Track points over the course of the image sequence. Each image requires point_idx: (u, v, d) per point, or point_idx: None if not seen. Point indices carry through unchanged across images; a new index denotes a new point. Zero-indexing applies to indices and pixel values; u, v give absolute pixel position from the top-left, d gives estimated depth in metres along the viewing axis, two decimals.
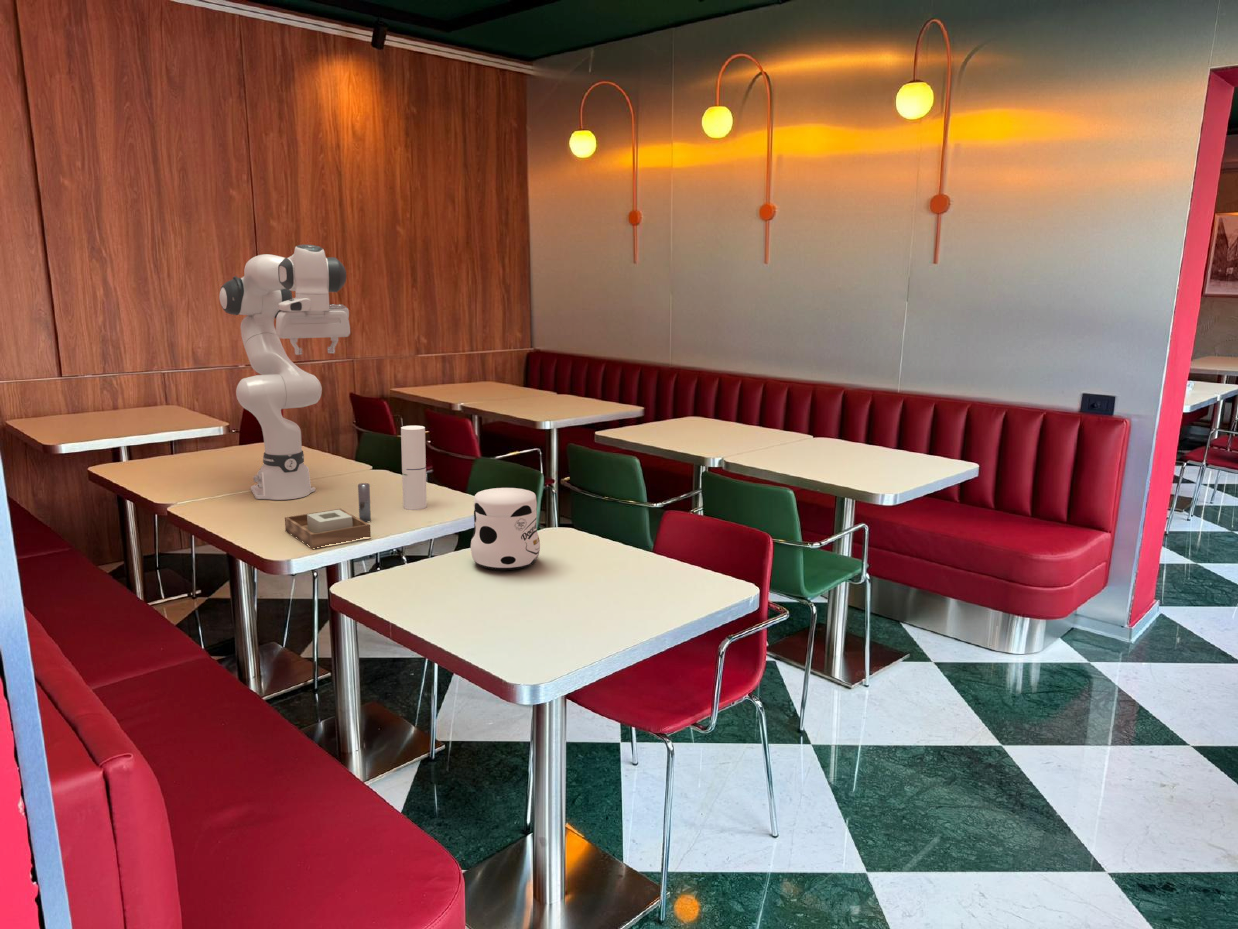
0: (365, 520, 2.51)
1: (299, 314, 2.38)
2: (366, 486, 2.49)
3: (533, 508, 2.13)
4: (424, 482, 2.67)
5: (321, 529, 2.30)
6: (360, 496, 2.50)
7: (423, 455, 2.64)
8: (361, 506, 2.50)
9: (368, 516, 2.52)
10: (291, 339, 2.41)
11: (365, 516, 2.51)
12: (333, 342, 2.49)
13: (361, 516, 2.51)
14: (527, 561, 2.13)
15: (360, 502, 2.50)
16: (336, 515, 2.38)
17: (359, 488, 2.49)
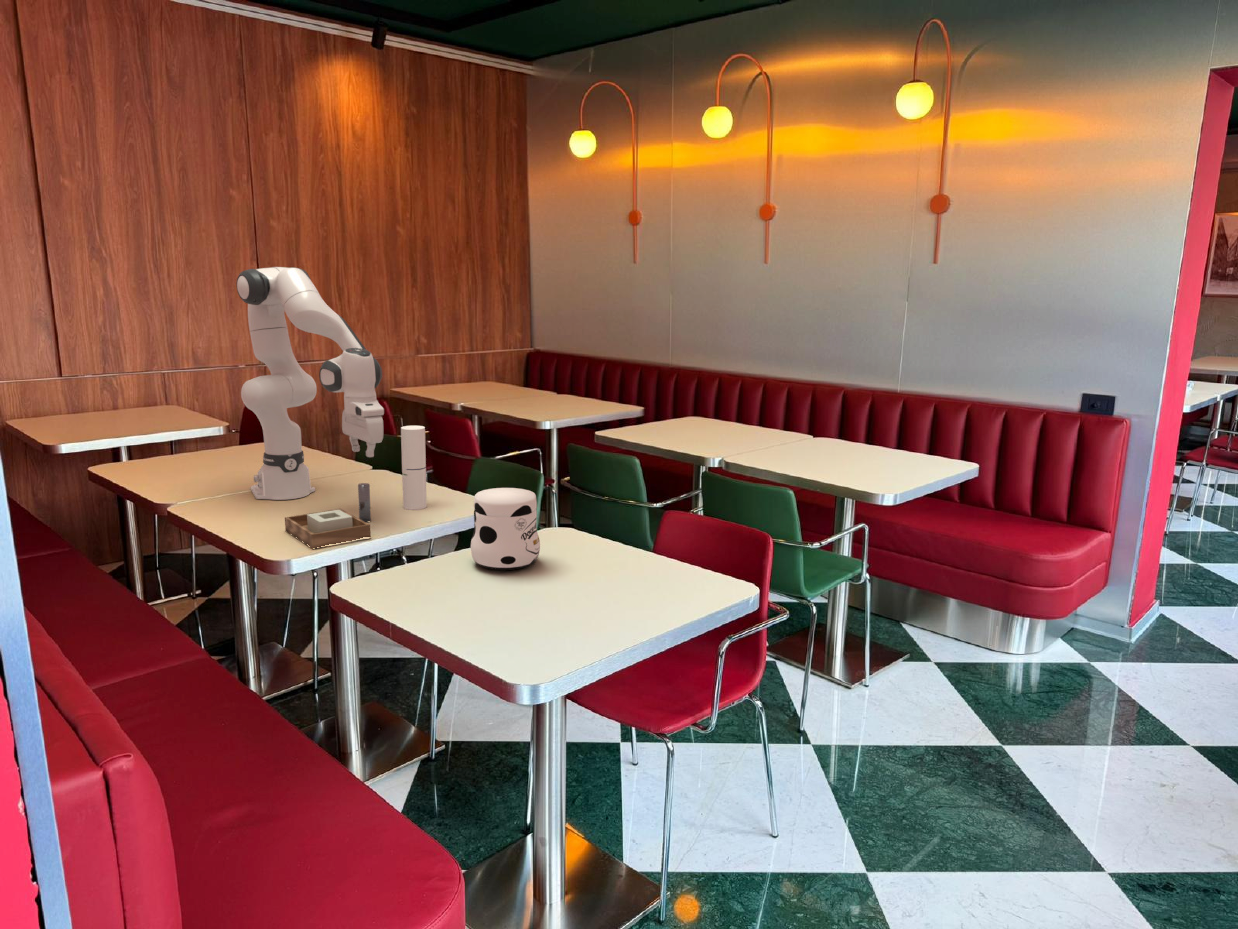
0: (365, 520, 2.51)
1: None
2: (366, 486, 2.49)
3: (533, 508, 2.13)
4: (424, 482, 2.67)
5: (321, 529, 2.30)
6: (360, 496, 2.50)
7: (423, 455, 2.64)
8: (361, 506, 2.50)
9: (368, 516, 2.52)
10: (372, 442, 2.43)
11: (365, 516, 2.51)
12: (354, 440, 2.52)
13: (361, 516, 2.51)
14: (527, 561, 2.13)
15: (360, 502, 2.50)
16: (336, 515, 2.38)
17: (359, 488, 2.49)
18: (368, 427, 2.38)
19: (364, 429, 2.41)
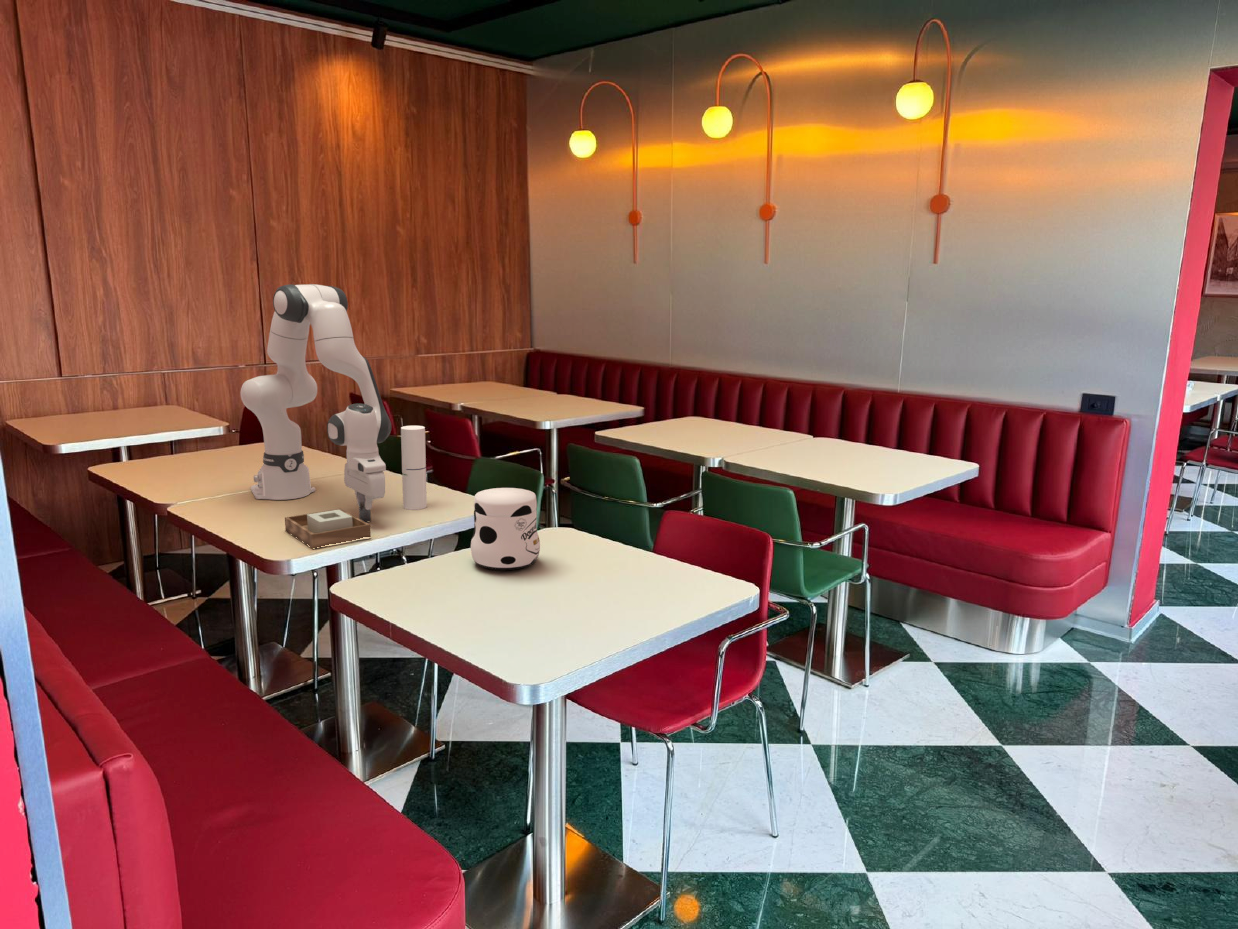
0: (365, 520, 2.51)
1: None
2: None
3: (533, 508, 2.13)
4: (424, 482, 2.67)
5: (321, 529, 2.30)
6: (360, 496, 2.50)
7: (423, 455, 2.64)
8: (361, 506, 2.50)
9: (368, 516, 2.52)
10: None
11: (365, 516, 2.51)
12: None
13: (361, 516, 2.51)
14: (527, 561, 2.13)
15: (360, 502, 2.50)
16: (336, 515, 2.38)
17: None
18: (370, 483, 2.42)
19: (367, 484, 2.44)
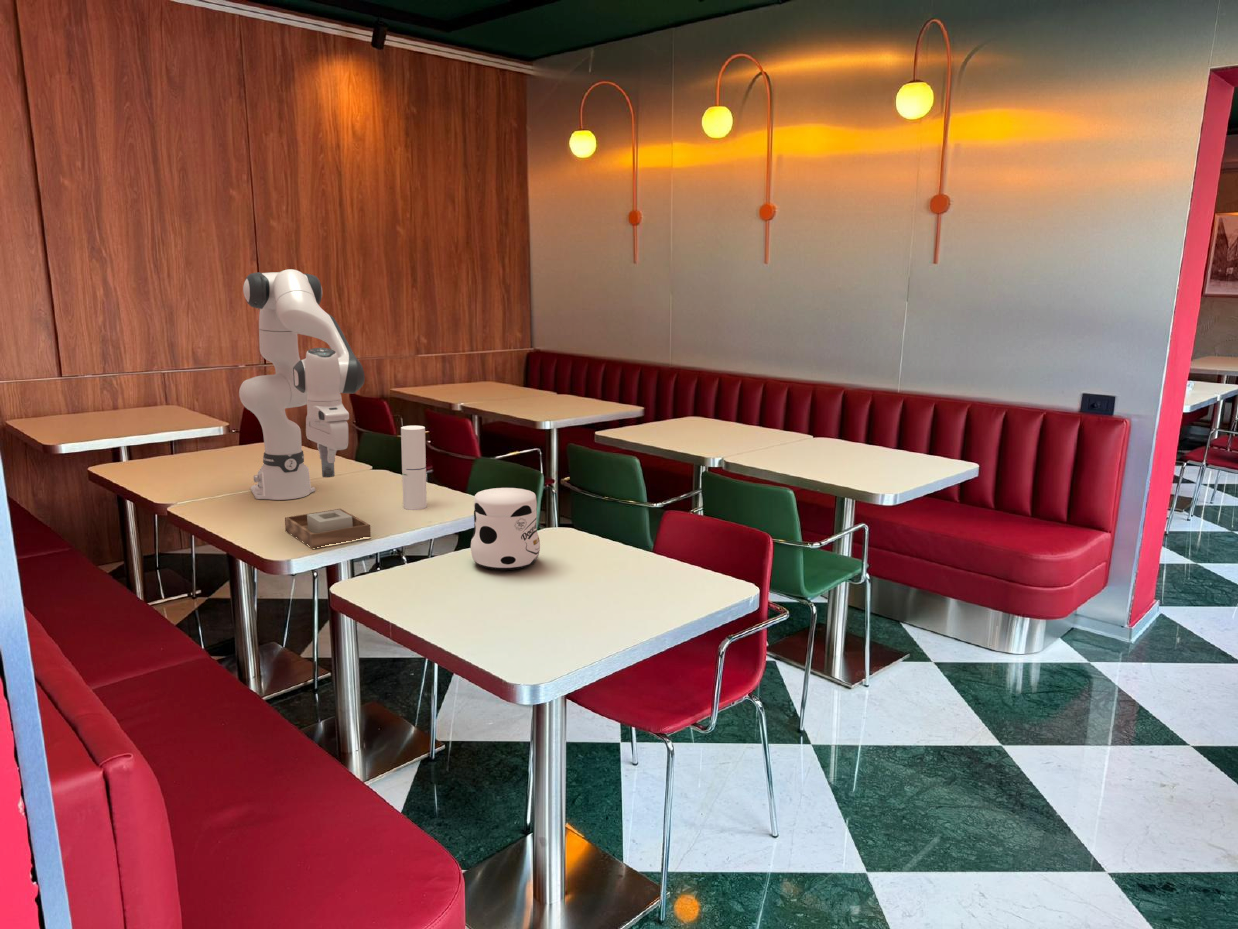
0: (328, 475, 2.32)
1: None
2: None
3: (533, 508, 2.13)
4: (424, 482, 2.67)
5: (321, 529, 2.30)
6: (322, 448, 2.31)
7: (423, 455, 2.64)
8: (323, 459, 2.31)
9: (332, 470, 2.33)
10: None
11: (328, 470, 2.32)
12: None
13: (324, 470, 2.32)
14: (527, 561, 2.13)
15: (322, 455, 2.31)
16: (336, 515, 2.38)
17: None
18: (332, 433, 2.22)
19: (328, 435, 2.25)
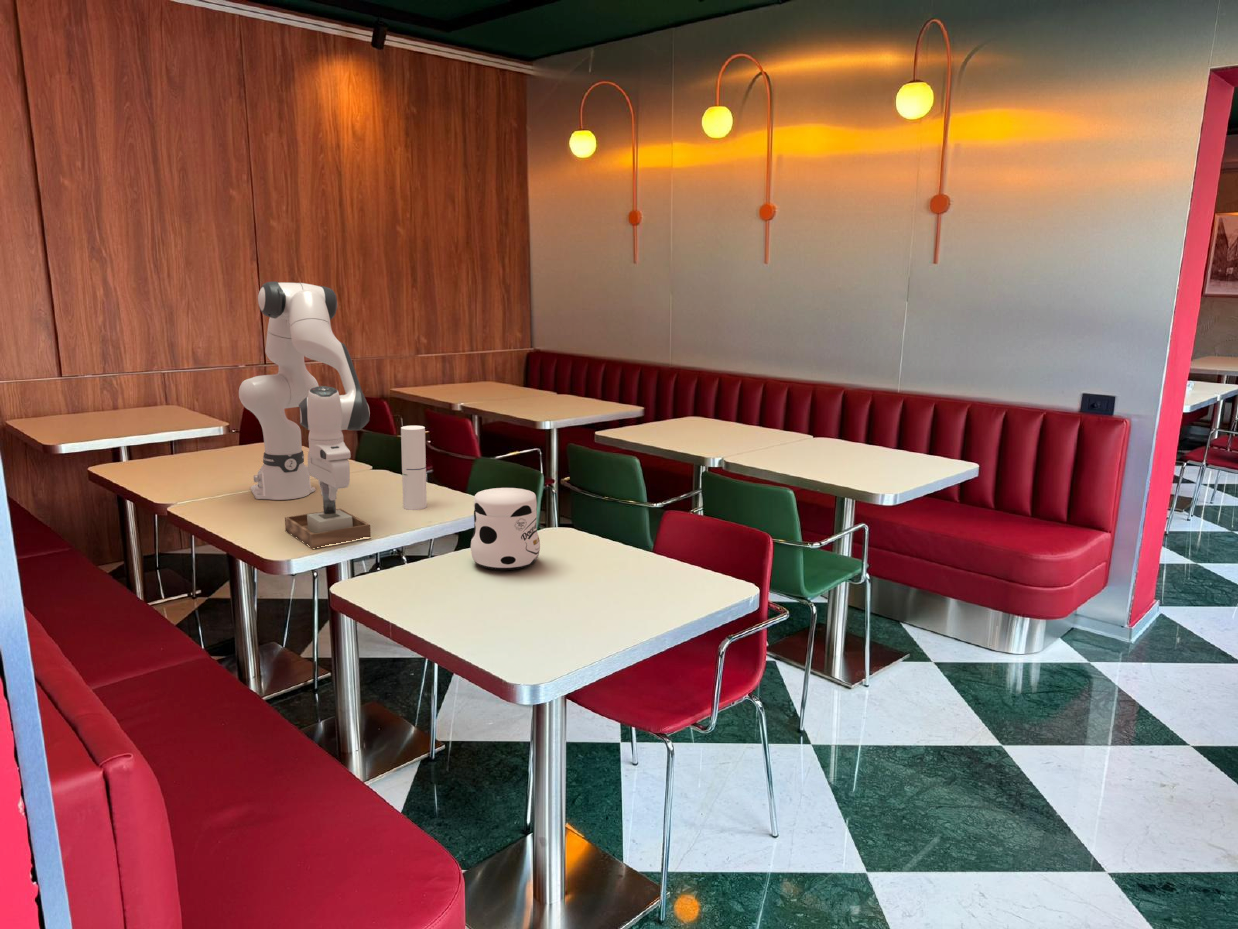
0: (329, 511, 2.34)
1: None
2: None
3: (533, 508, 2.13)
4: (424, 482, 2.67)
5: (321, 529, 2.30)
6: (324, 486, 2.33)
7: (423, 455, 2.64)
8: (325, 496, 2.33)
9: (333, 507, 2.35)
10: None
11: (330, 507, 2.34)
12: None
13: (325, 507, 2.34)
14: (527, 561, 2.13)
15: (324, 492, 2.33)
16: (336, 515, 2.38)
17: None
18: (333, 472, 2.25)
19: (330, 473, 2.27)
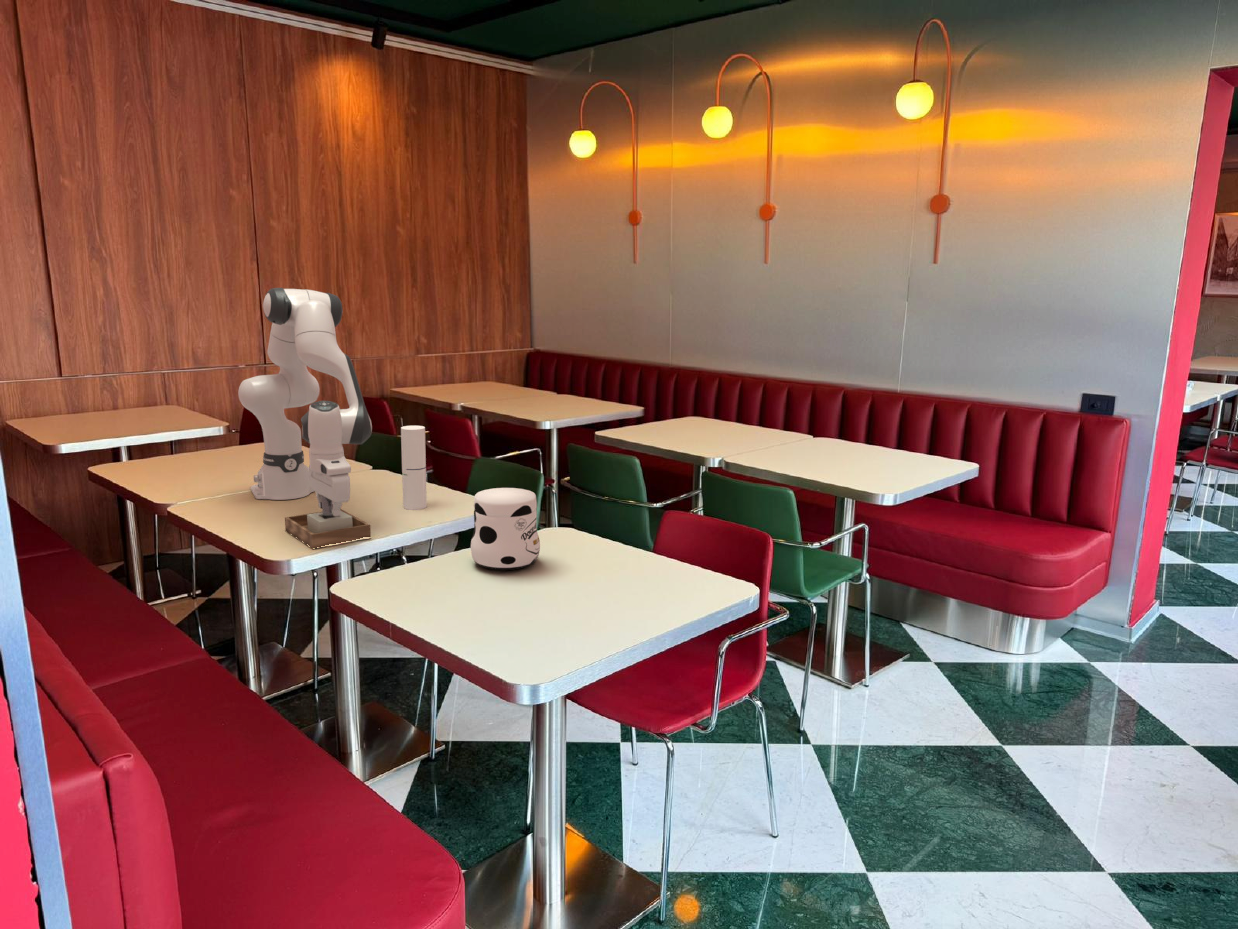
0: None
1: None
2: None
3: (533, 508, 2.13)
4: (424, 482, 2.67)
5: (321, 529, 2.30)
6: (324, 506, 2.34)
7: (423, 455, 2.64)
8: (325, 517, 2.35)
9: None
10: None
11: None
12: (321, 496, 2.39)
13: None
14: (527, 561, 2.13)
15: (324, 513, 2.35)
16: None
17: (322, 498, 2.34)
18: (334, 486, 2.25)
19: (330, 487, 2.28)
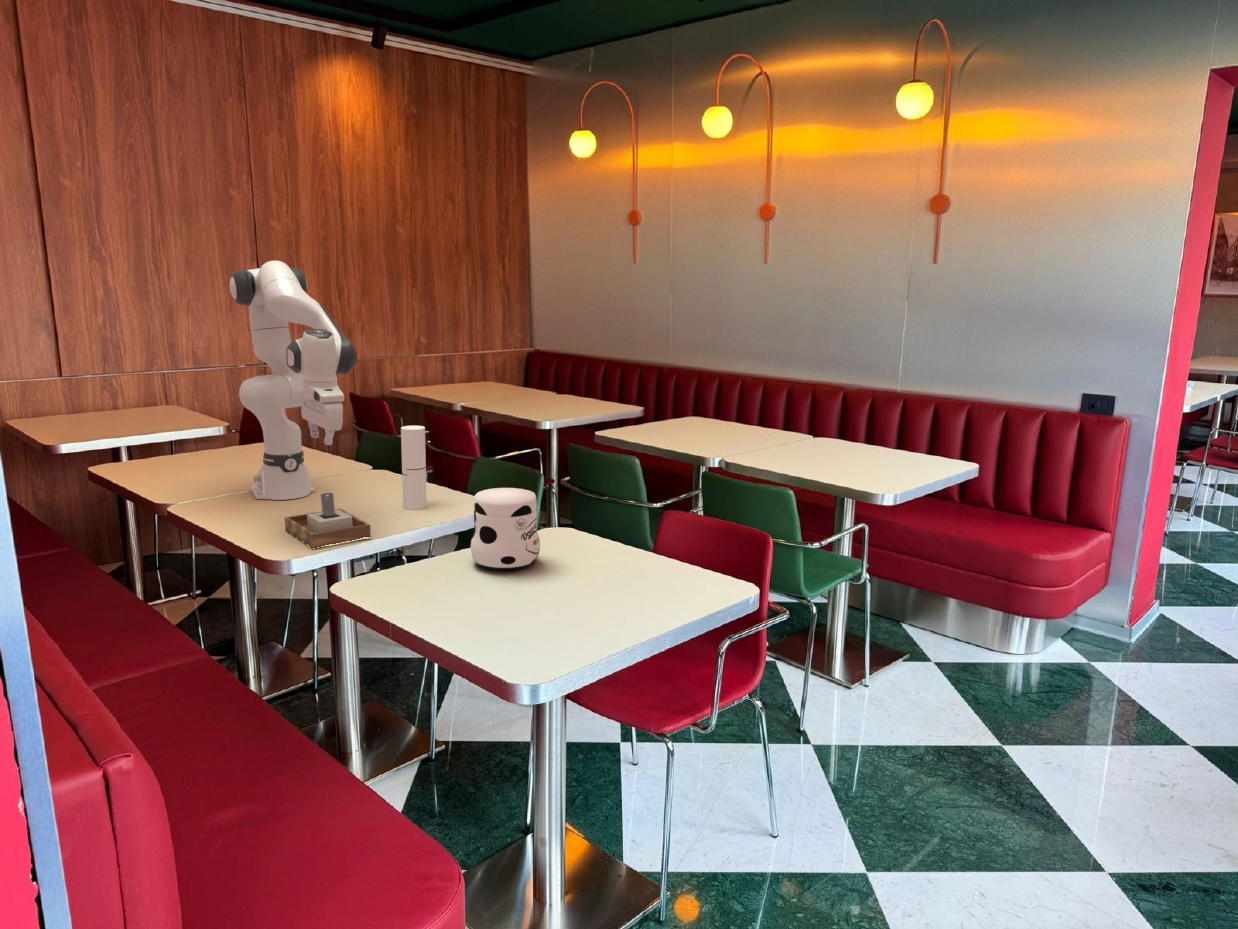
0: None
1: None
2: (329, 496, 2.33)
3: (533, 508, 2.13)
4: (424, 482, 2.67)
5: (321, 529, 2.30)
6: (323, 507, 2.34)
7: (423, 455, 2.64)
8: (325, 517, 2.35)
9: None
10: None
11: None
12: (313, 426, 2.39)
13: None
14: (527, 561, 2.13)
15: (324, 513, 2.34)
16: (336, 515, 2.38)
17: (322, 498, 2.33)
18: (326, 414, 2.25)
19: (323, 415, 2.28)
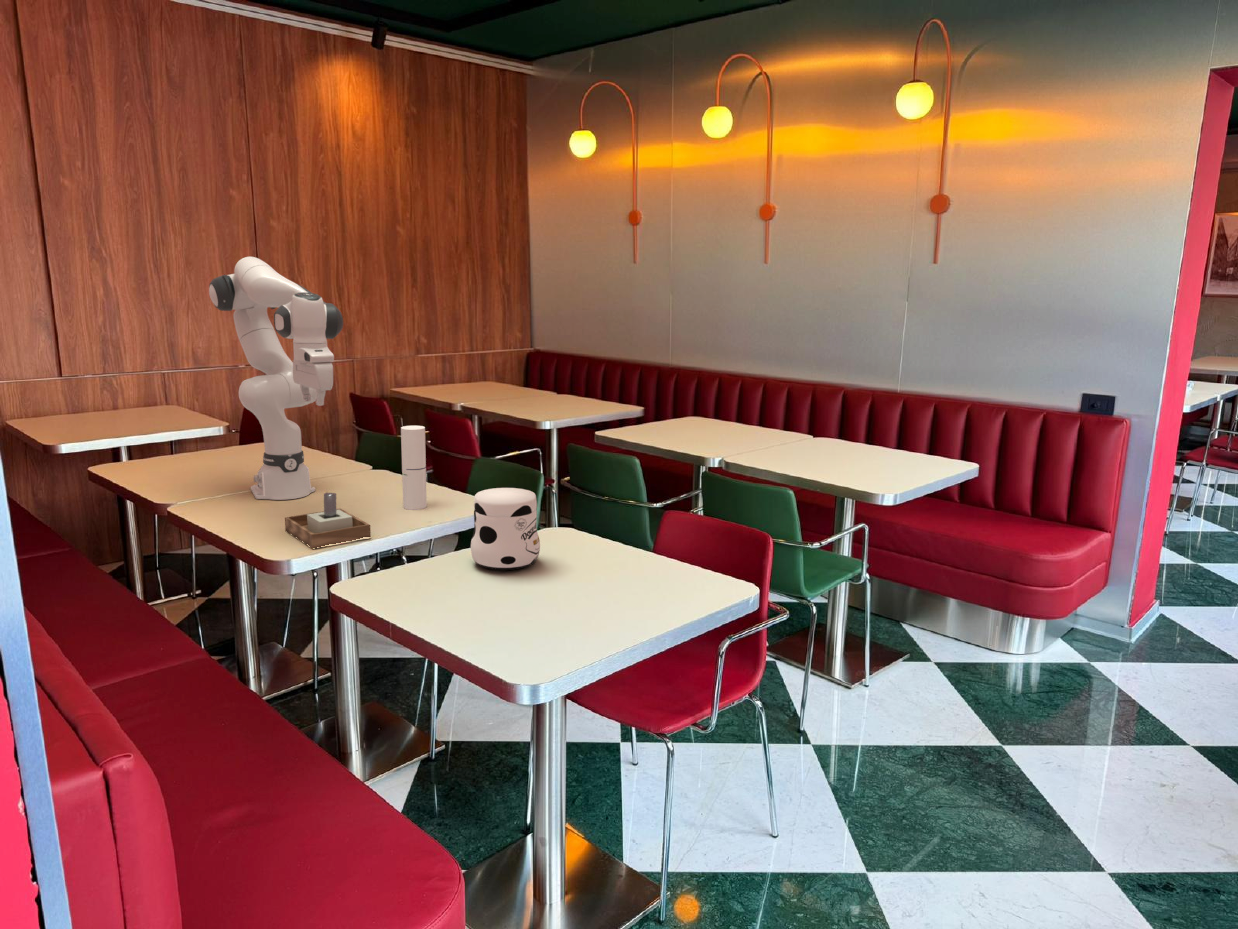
0: None
1: None
2: (332, 496, 2.34)
3: (533, 508, 2.13)
4: (424, 482, 2.67)
5: (321, 529, 2.30)
6: (325, 506, 2.34)
7: (423, 455, 2.64)
8: (326, 517, 2.35)
9: None
10: (322, 390, 2.35)
11: None
12: (305, 389, 2.44)
13: None
14: (527, 561, 2.13)
15: (325, 513, 2.35)
16: (336, 515, 2.38)
17: (325, 498, 2.34)
18: (317, 373, 2.30)
19: (314, 376, 2.33)
